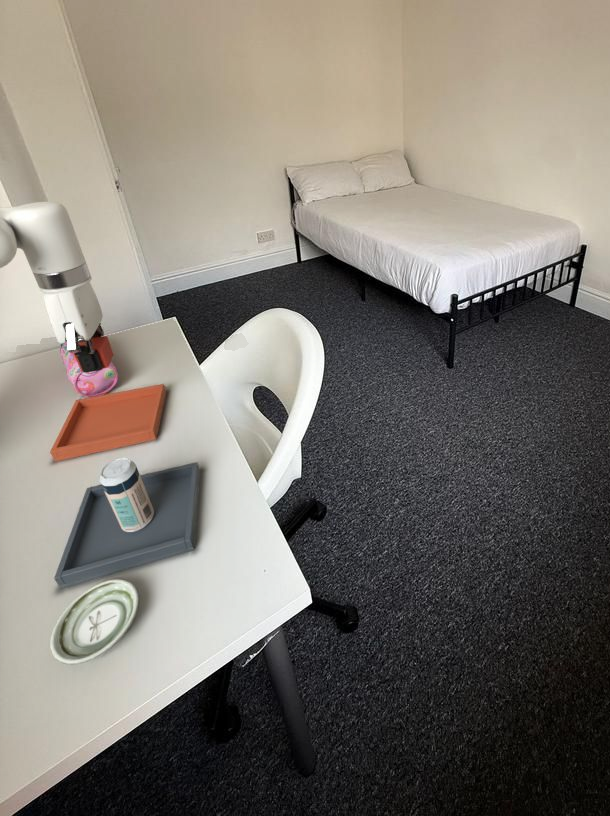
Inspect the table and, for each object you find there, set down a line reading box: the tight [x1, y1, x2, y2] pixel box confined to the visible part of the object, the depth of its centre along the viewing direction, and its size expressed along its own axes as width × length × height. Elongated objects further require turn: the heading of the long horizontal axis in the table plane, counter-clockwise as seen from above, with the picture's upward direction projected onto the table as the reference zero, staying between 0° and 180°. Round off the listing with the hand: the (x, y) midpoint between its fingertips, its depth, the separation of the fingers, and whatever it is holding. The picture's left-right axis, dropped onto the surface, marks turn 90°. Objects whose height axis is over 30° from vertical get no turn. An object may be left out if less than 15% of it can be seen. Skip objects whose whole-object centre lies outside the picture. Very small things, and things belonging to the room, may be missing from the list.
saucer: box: [49, 578, 140, 666], centre depth 54 cm, size 10×10×2 cm
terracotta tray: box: [49, 383, 167, 462], centre depth 88 cm, size 18×16×3 cm
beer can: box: [99, 457, 154, 532], centre depth 65 cm, size 5×5×12 cm
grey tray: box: [53, 461, 201, 590], centre depth 67 cm, size 18×16×3 cm
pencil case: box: [59, 336, 119, 398], centre depth 100 cm, size 21×9×9 cm, turn 41°
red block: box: [74, 335, 115, 372], centre depth 79 cm, size 4×4×4 cm
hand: (97, 361), depth 80 cm, fingers closed on red block, 4 cm apart
